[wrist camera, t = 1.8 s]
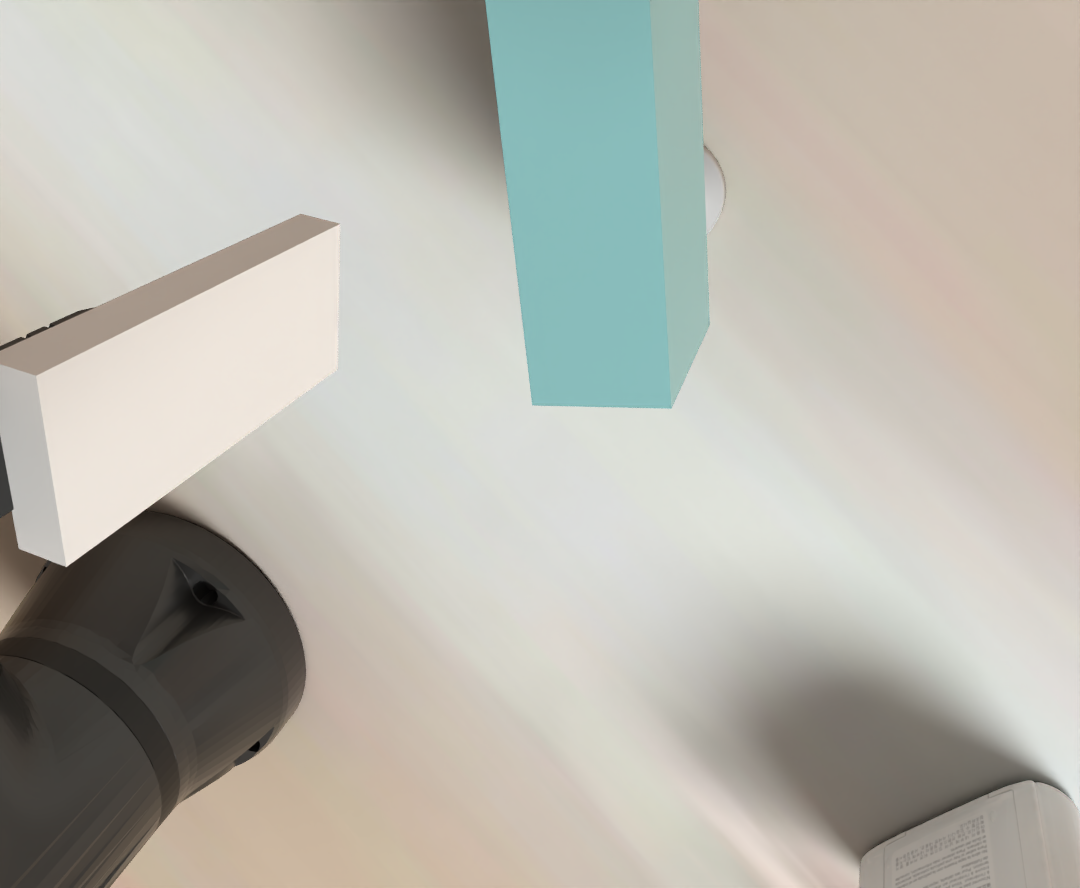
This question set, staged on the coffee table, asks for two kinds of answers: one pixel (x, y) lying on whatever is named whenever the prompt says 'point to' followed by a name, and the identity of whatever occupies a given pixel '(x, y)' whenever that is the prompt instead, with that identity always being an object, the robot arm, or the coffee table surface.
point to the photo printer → (986, 845)
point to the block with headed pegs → (606, 193)
